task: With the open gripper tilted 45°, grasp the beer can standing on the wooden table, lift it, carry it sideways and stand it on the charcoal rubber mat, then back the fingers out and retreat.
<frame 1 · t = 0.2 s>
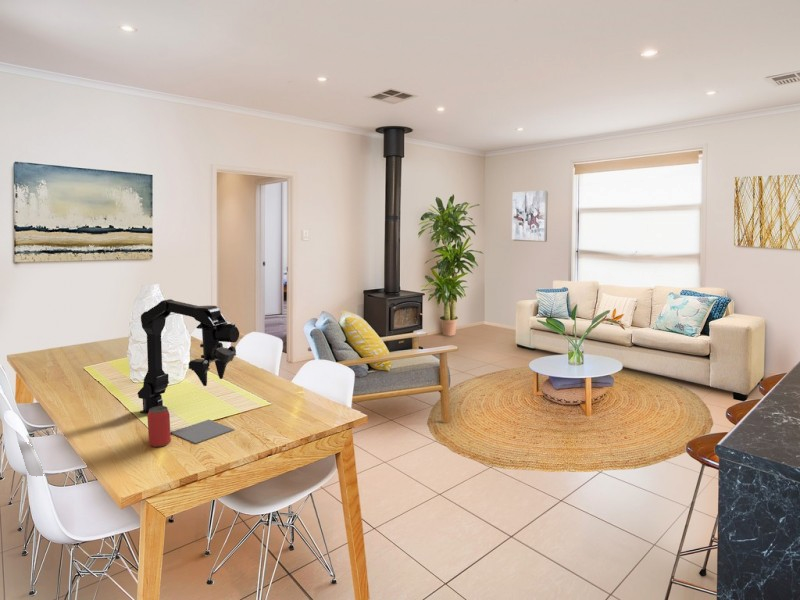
hand: (213, 382, 190), 15 cm above the table, fingers open, 9 cm apart
beer can: (160, 444, 171), on the table
mat: (202, 431, 181), on the table
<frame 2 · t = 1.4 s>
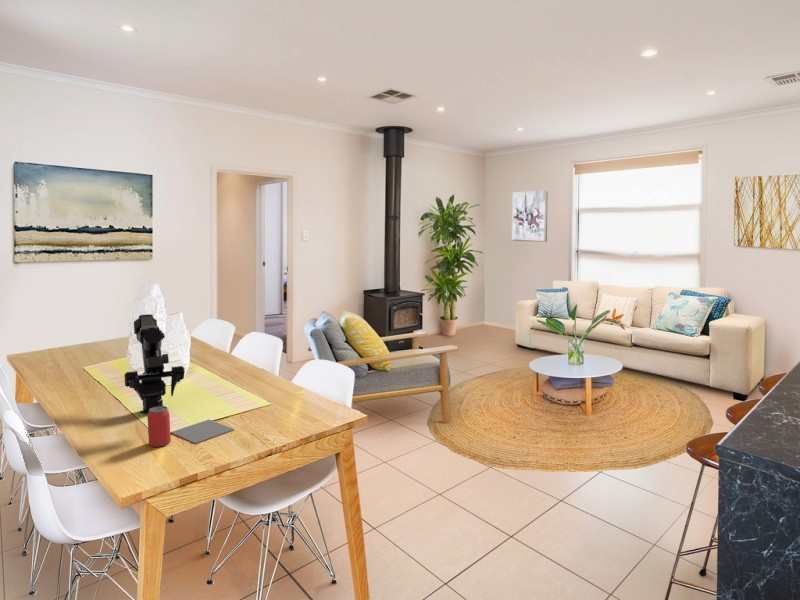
hand: (157, 397, 176), 13 cm above the table, fingers open, 9 cm apart
nothing on the table moved.
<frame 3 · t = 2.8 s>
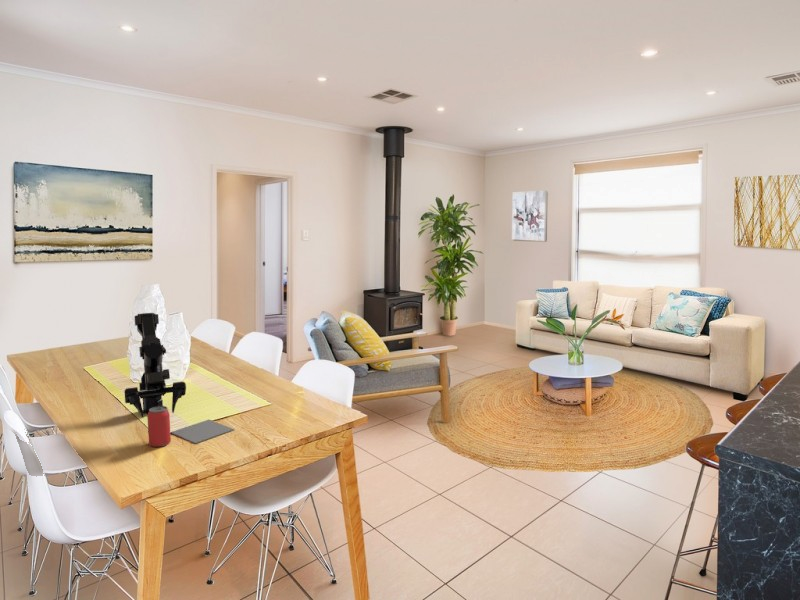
hand: (158, 414, 171), 9 cm above the table, fingers open, 9 cm apart
nothing on the table moved.
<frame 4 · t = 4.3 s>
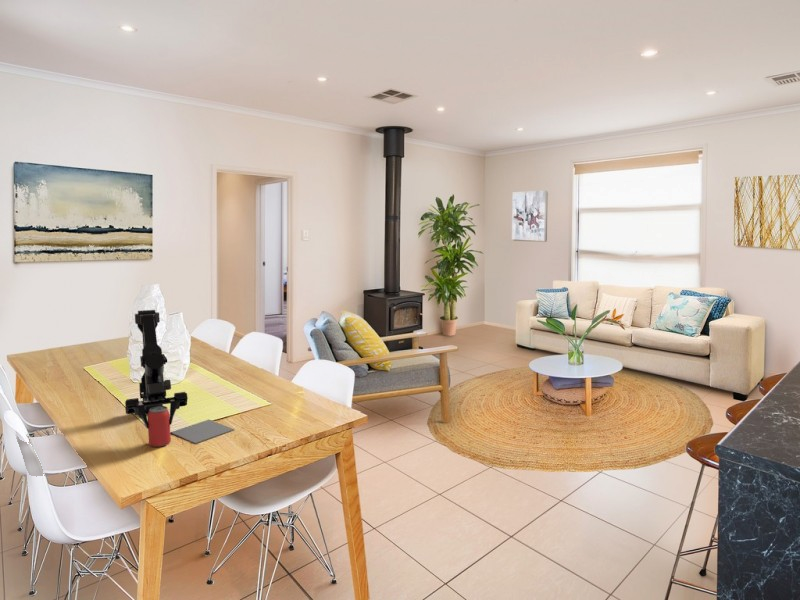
hand: (159, 425, 168), 7 cm above the table, fingers closed on beer can, 6 cm apart
beer can: (160, 444, 171), on the table, touching gripper
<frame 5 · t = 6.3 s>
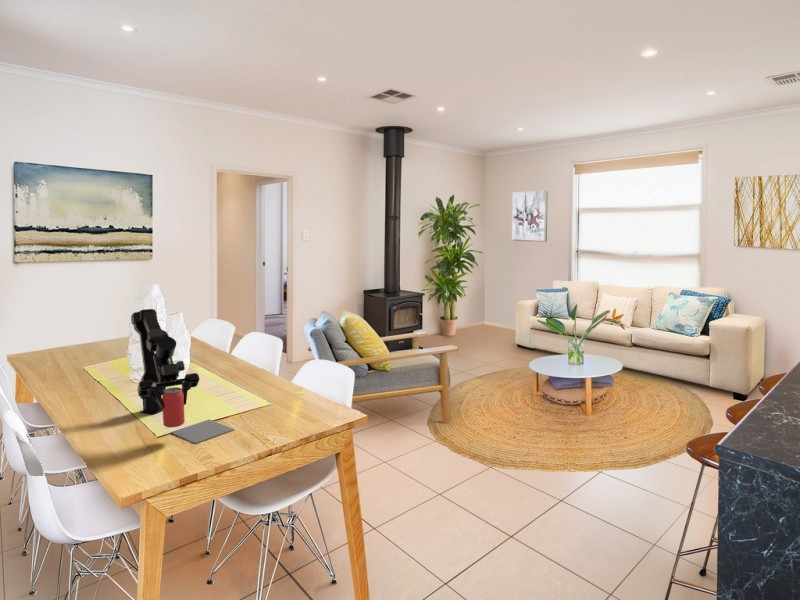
hand: (174, 406, 171), 12 cm above the table, fingers closed on beer can, 6 cm apart
beer can: (174, 424, 173), point 5 cm above the table, touching gripper
when the fingers open (8 cm above the table, at t = 8.6 s): beer can stays where it is, resting on mat.
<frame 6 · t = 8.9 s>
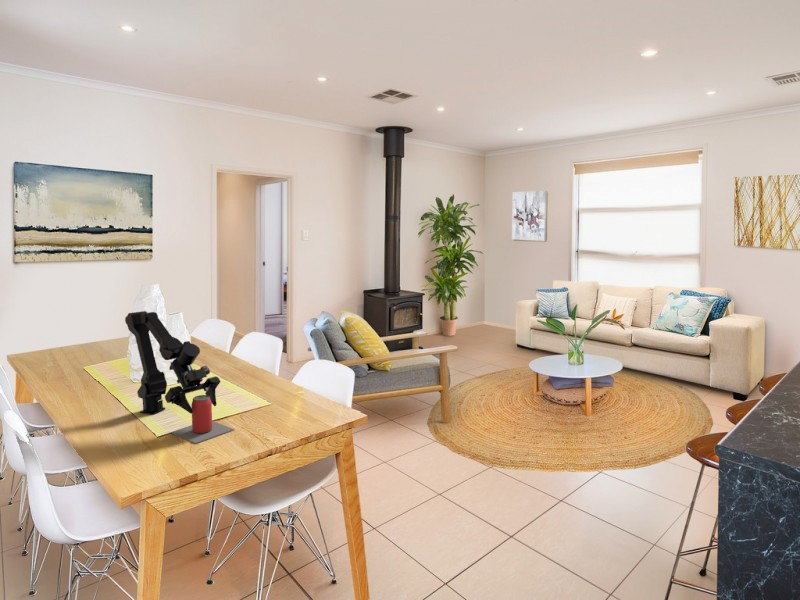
hand: (204, 409, 179), 9 cm above the table, fingers open, 9 cm apart
beer can: (202, 431, 181), resting on mat
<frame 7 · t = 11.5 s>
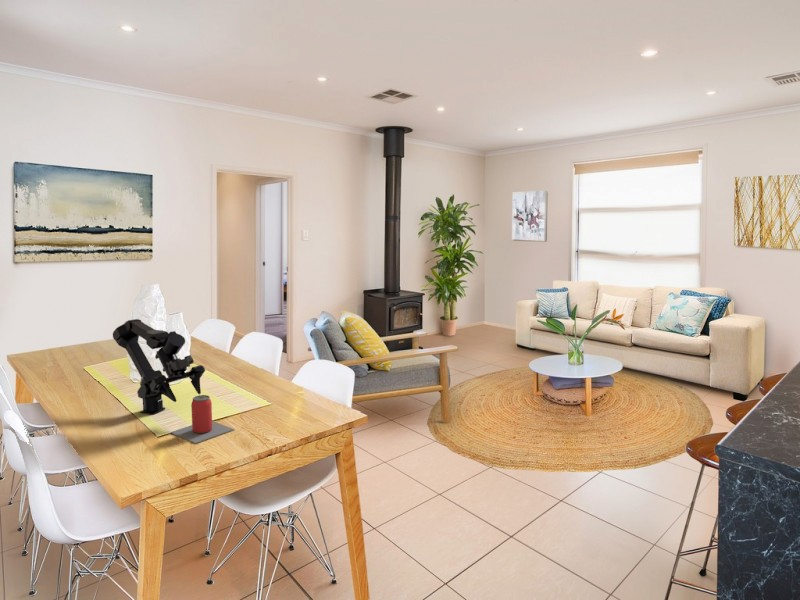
hand: (188, 397, 184), 11 cm above the table, fingers open, 9 cm apart
nothing on the table moved.
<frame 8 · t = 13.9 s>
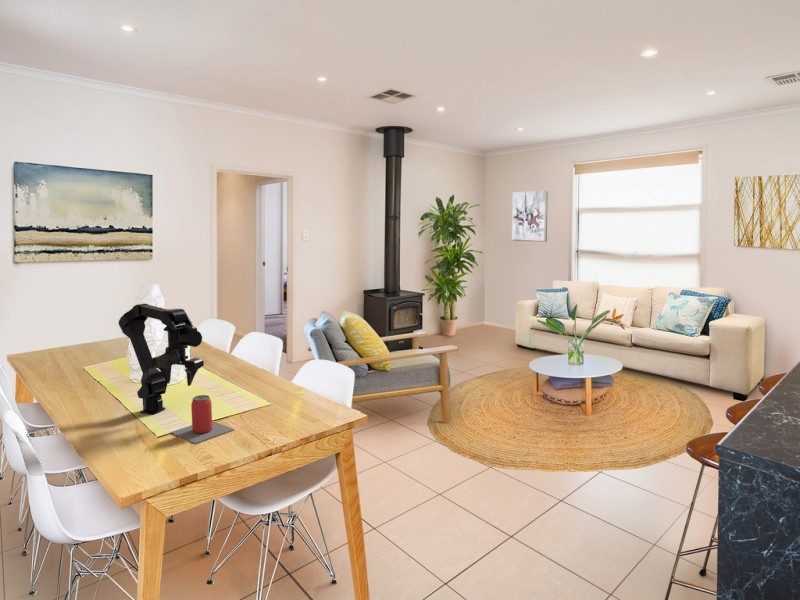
hand: (178, 384, 191), 13 cm above the table, fingers open, 9 cm apart
nothing on the table moved.
at the end: beer can inside the target area on the mat (0.1 cm from its centre), point 0.2 cm above the mat's base; beer can tilted 0°; the gripper is holding nothing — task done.
